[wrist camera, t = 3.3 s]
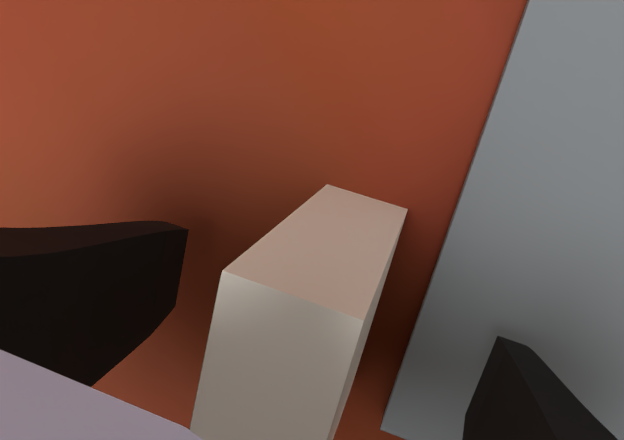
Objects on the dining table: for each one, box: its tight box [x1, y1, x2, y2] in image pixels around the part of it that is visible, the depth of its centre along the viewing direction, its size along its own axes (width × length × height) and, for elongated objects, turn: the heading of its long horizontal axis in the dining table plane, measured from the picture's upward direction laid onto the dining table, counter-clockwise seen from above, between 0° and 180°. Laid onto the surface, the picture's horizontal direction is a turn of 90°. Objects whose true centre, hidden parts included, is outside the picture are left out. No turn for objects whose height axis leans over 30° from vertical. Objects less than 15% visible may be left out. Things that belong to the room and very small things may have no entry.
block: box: [189, 184, 408, 440], centre depth 11 cm, size 5×2×6 cm, turn 166°
